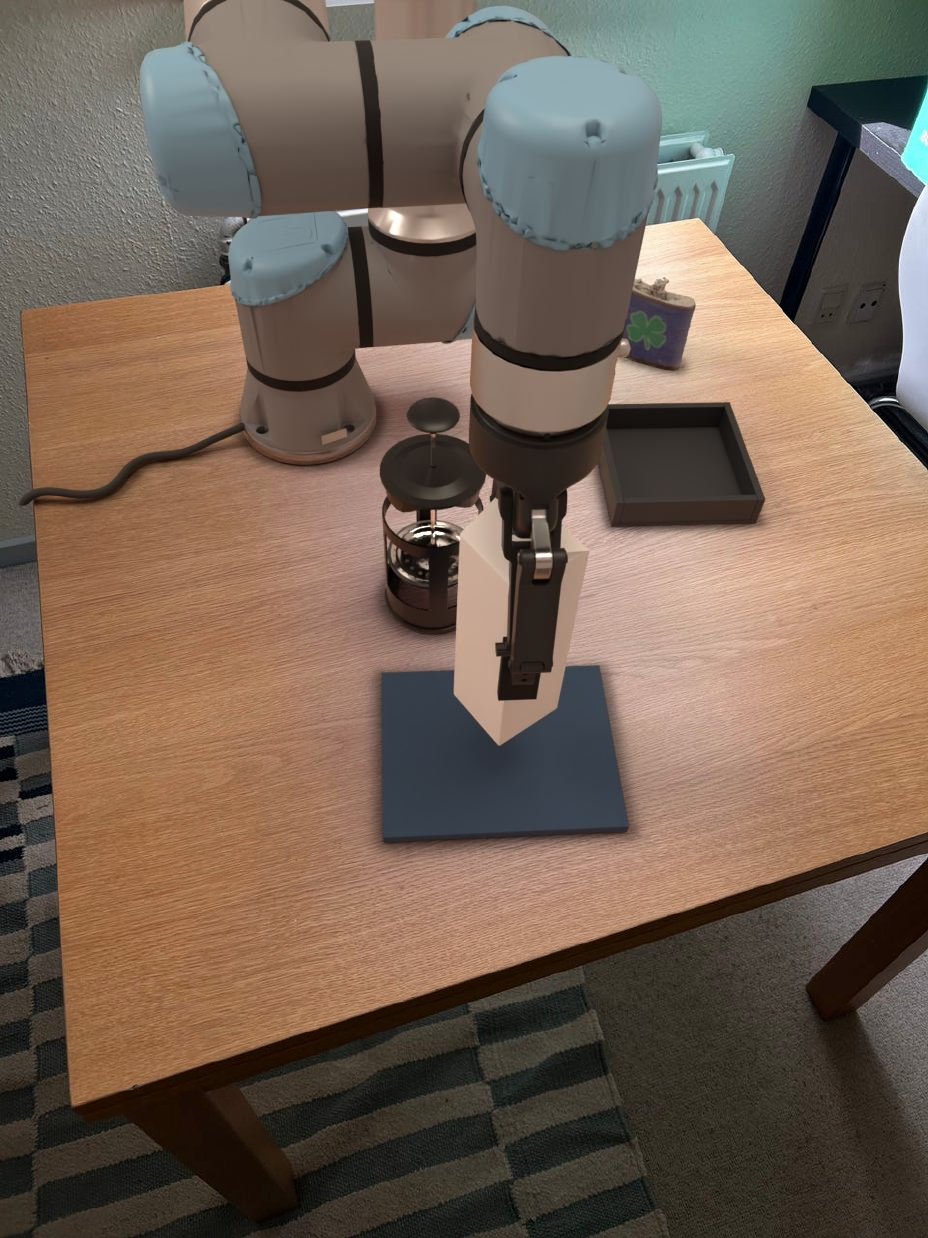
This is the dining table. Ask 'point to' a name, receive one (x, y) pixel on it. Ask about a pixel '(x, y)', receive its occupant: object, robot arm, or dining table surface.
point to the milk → (504, 627)
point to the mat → (496, 764)
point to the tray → (677, 466)
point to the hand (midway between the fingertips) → (510, 644)
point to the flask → (657, 324)
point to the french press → (427, 513)
